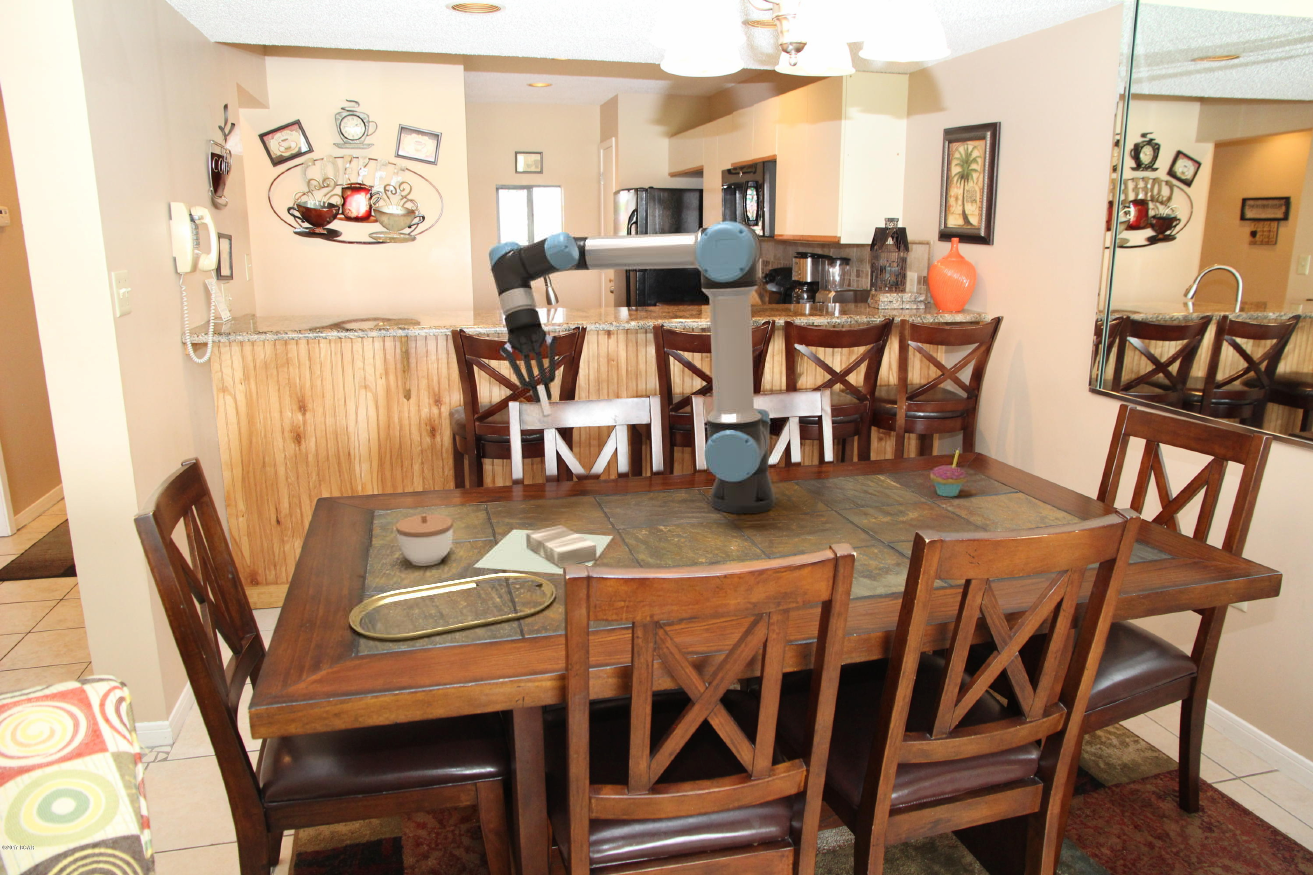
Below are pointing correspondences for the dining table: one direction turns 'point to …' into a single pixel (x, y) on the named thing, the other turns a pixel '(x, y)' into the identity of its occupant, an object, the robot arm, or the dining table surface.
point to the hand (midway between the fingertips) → (547, 415)
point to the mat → (529, 554)
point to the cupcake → (948, 478)
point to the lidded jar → (425, 538)
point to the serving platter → (440, 588)
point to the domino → (561, 546)
